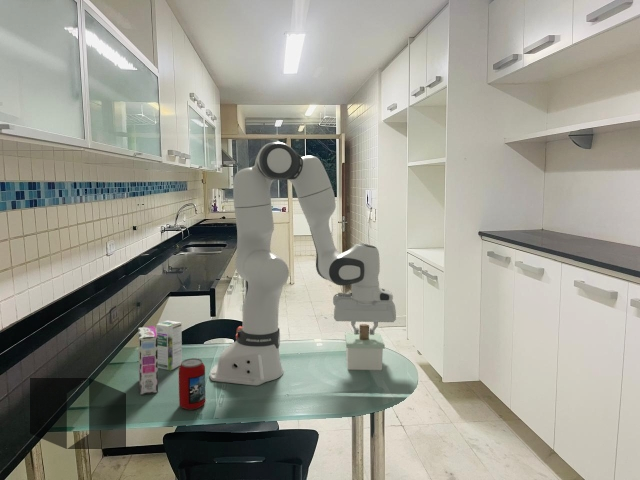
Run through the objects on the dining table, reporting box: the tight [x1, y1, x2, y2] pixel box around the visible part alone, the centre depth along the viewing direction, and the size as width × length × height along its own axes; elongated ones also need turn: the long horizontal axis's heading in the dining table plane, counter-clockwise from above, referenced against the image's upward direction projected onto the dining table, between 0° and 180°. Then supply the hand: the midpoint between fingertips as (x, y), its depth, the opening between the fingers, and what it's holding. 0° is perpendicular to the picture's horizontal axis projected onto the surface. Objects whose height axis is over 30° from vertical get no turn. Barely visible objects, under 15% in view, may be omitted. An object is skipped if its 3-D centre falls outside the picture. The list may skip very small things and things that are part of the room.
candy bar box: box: [137, 325, 159, 396], centre depth 132 cm, size 11×5×16 cm, turn 23°
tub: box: [345, 347, 384, 371], centre depth 150 cm, size 11×11×8 cm
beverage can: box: [178, 357, 206, 411], centre depth 121 cm, size 7×7×12 cm
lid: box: [344, 323, 386, 350], centre depth 150 cm, size 12×12×7 cm
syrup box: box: [155, 320, 183, 372], centre depth 147 cm, size 6×6×14 cm
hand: (364, 334), depth 150 cm, fingers open, 4 cm apart
